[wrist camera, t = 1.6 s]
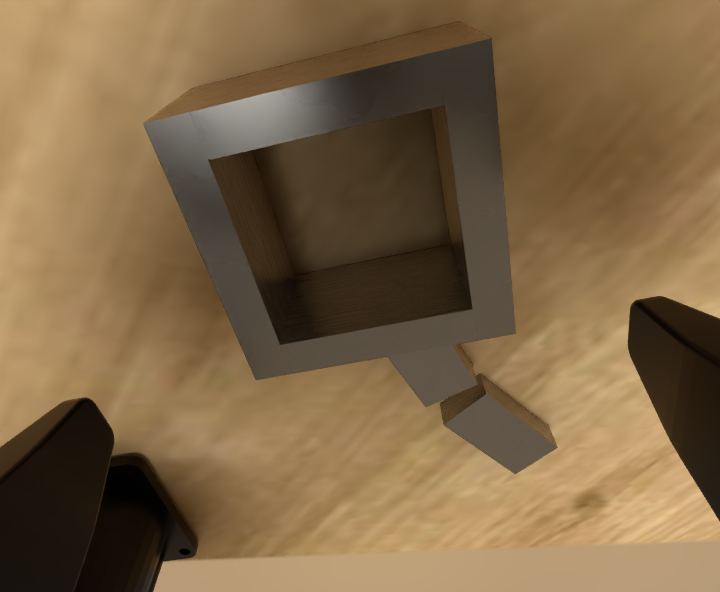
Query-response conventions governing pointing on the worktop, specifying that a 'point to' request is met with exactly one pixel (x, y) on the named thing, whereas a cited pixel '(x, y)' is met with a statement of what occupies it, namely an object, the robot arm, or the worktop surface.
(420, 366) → the grey topped wooden tile
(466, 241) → the hollow square frame
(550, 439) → the wood sided gray block
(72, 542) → the robot arm
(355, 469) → the worktop surface
